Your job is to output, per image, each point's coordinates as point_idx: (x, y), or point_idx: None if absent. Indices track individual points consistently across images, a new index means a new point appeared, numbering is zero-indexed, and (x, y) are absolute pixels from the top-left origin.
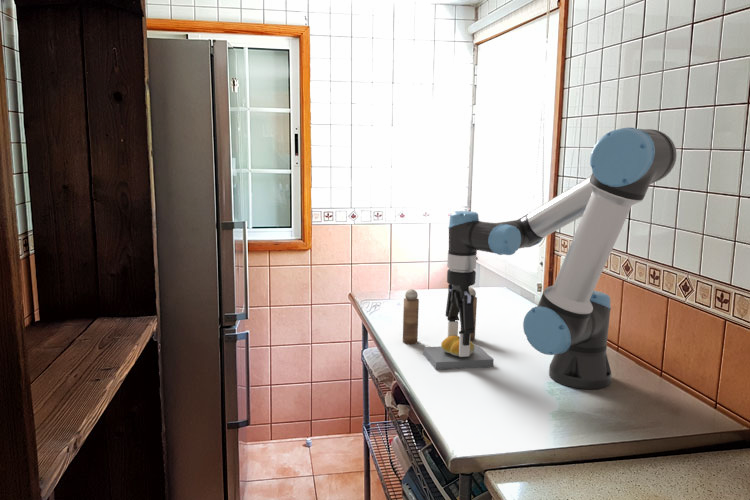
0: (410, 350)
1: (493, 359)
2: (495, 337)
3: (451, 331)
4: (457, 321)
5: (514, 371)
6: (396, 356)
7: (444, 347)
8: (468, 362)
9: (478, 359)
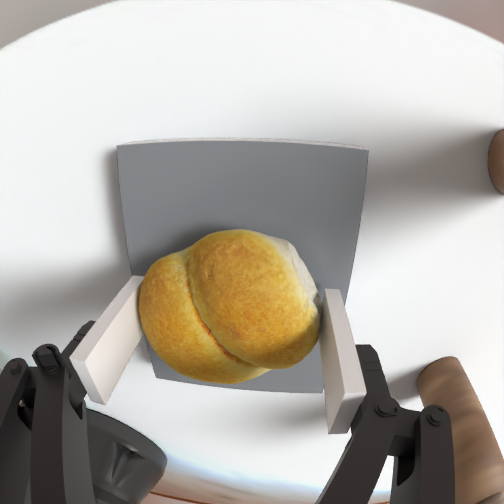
0: (421, 106)
1: (156, 377)
2: None
3: (331, 354)
4: (340, 432)
5: (130, 383)
6: (347, 6)
7: (208, 238)
8: None
9: None
